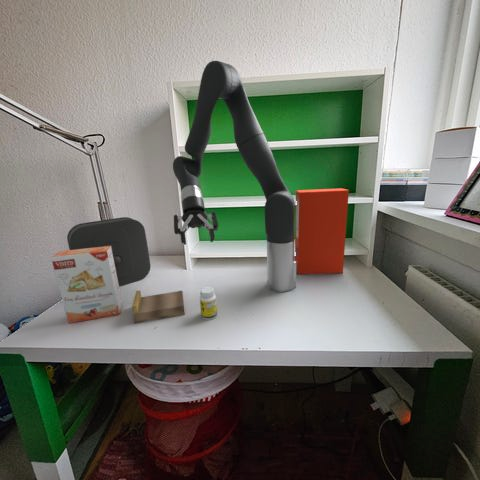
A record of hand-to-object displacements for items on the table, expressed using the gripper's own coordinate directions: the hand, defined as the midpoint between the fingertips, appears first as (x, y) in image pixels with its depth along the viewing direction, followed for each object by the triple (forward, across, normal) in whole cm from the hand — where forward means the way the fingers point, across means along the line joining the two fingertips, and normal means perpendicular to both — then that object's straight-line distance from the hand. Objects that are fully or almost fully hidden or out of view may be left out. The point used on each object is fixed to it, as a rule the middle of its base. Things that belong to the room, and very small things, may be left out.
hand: (198, 242), depth 79 cm
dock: (+17, -14, +11) cm, 24 cm away
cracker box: (+14, -32, +14) cm, 38 cm away
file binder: (+9, +48, +17) cm, 51 cm away
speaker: (-1, -30, +30) cm, 43 cm away
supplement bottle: (+22, 0, +5) cm, 23 cm away
